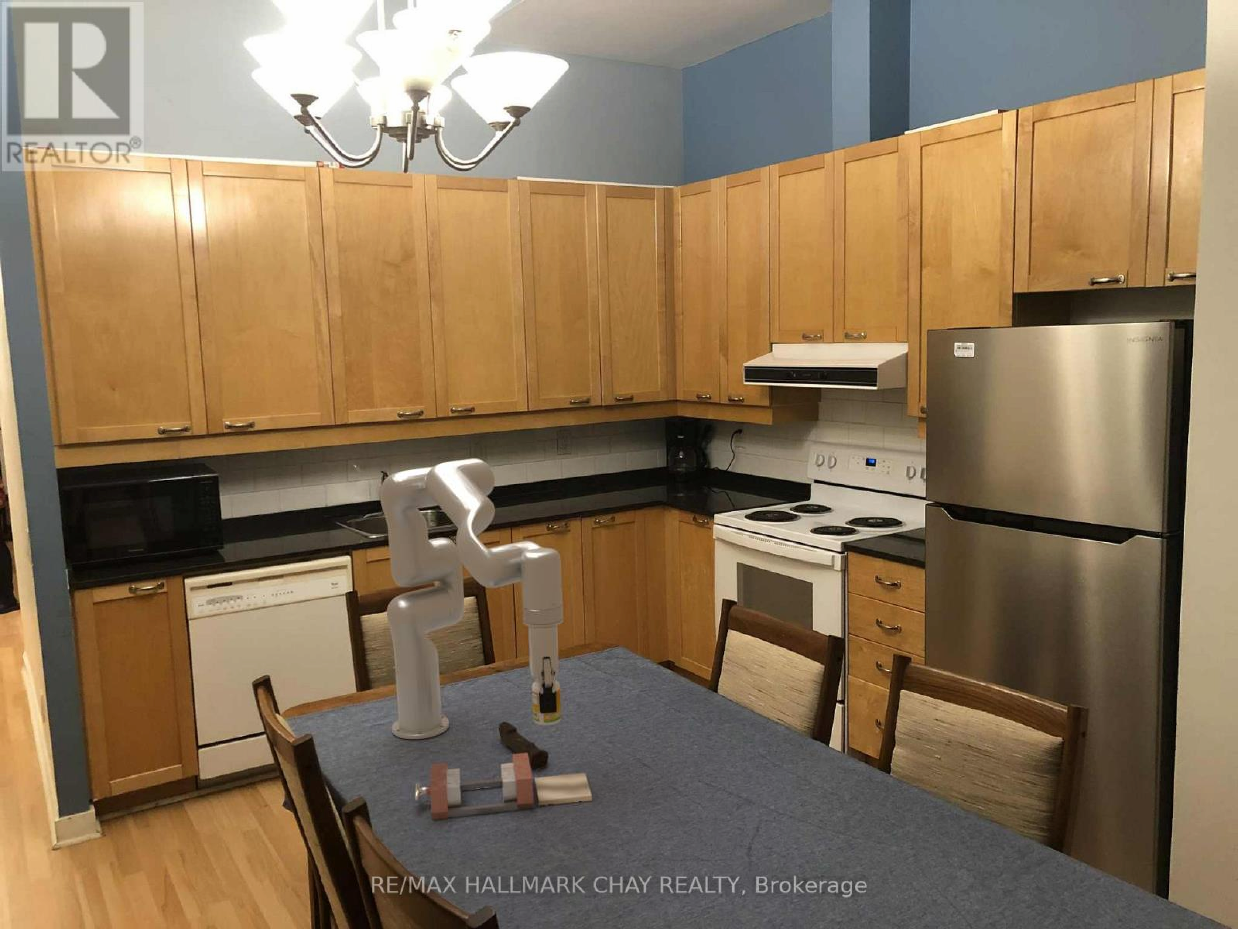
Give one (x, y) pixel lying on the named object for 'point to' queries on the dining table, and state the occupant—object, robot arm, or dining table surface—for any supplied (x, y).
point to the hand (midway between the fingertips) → (547, 705)
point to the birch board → (562, 789)
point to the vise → (449, 788)
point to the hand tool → (522, 745)
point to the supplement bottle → (537, 716)
